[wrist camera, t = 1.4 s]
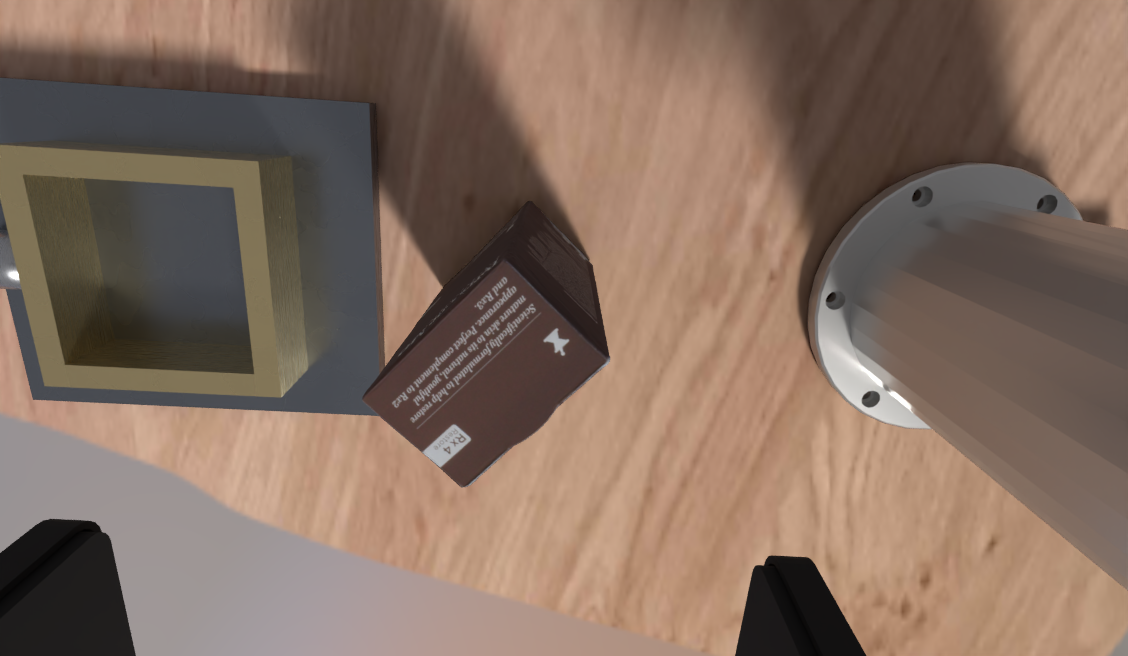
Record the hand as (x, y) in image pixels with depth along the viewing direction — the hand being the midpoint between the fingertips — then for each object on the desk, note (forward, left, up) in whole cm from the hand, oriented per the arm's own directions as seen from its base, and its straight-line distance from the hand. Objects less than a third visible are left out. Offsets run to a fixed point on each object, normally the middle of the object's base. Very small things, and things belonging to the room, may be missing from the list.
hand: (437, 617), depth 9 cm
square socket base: (+14, 0, -20) cm, 25 cm away
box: (0, 0, -20) cm, 20 cm away
